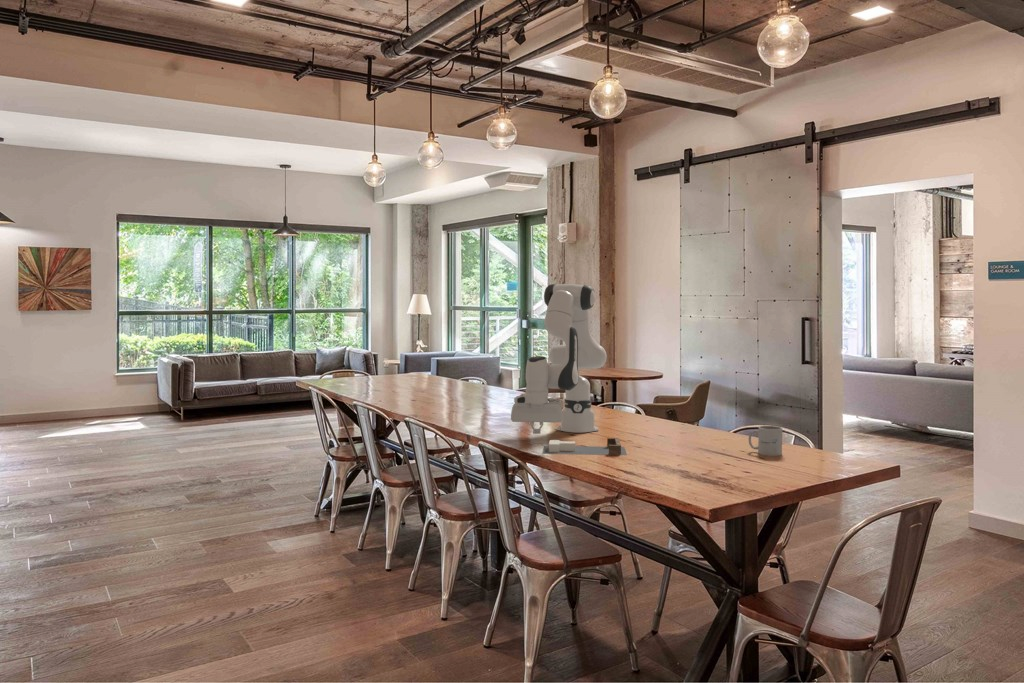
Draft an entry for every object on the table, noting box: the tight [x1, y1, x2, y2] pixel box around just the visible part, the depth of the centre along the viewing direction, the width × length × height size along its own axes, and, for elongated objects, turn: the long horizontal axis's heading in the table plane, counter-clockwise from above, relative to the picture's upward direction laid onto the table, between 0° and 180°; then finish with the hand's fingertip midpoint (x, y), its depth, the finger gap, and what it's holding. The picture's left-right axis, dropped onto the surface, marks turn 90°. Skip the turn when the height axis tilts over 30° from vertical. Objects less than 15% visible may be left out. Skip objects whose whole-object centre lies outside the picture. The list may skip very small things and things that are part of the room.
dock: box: [606, 437, 622, 456], centre depth 290 cm, size 16×4×4 cm, turn 175°
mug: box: [748, 425, 783, 457], centre depth 288 cm, size 12×9×10 cm
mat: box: [541, 445, 628, 456], centre depth 292 cm, size 16×32×1 cm, turn 85°
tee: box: [548, 439, 576, 452], centre depth 292 cm, size 9×10×3 cm
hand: (536, 433), depth 292 cm, fingers closed
